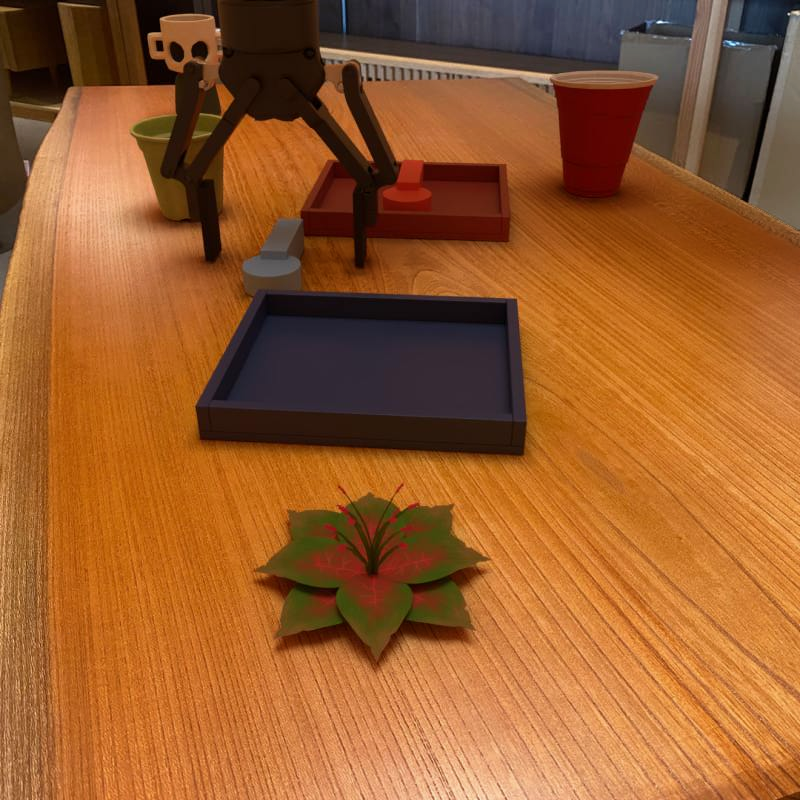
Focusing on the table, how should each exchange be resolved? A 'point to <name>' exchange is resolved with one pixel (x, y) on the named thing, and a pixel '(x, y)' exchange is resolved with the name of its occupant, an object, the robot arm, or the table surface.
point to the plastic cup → (598, 126)
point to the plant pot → (170, 191)
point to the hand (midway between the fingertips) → (286, 258)
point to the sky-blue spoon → (277, 260)
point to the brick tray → (449, 218)
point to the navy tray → (371, 373)
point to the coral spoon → (408, 190)
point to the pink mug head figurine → (188, 51)
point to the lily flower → (372, 569)
